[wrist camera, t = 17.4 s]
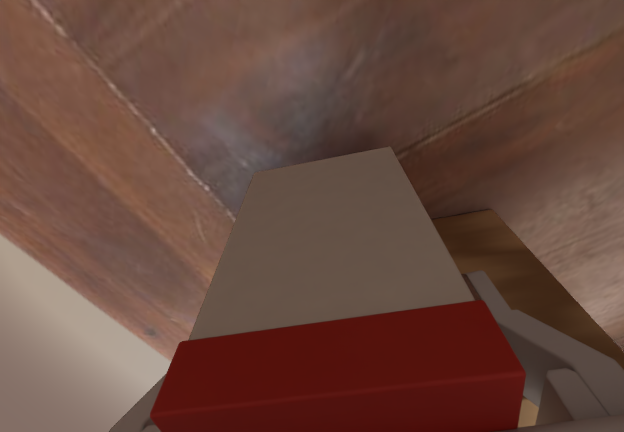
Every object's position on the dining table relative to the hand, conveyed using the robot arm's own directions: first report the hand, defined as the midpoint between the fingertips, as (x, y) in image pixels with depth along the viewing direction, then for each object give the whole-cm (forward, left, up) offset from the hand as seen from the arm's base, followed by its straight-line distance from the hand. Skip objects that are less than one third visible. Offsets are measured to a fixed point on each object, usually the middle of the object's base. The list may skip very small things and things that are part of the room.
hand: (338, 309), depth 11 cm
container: (0, -3, 0) cm, 3 cm away
